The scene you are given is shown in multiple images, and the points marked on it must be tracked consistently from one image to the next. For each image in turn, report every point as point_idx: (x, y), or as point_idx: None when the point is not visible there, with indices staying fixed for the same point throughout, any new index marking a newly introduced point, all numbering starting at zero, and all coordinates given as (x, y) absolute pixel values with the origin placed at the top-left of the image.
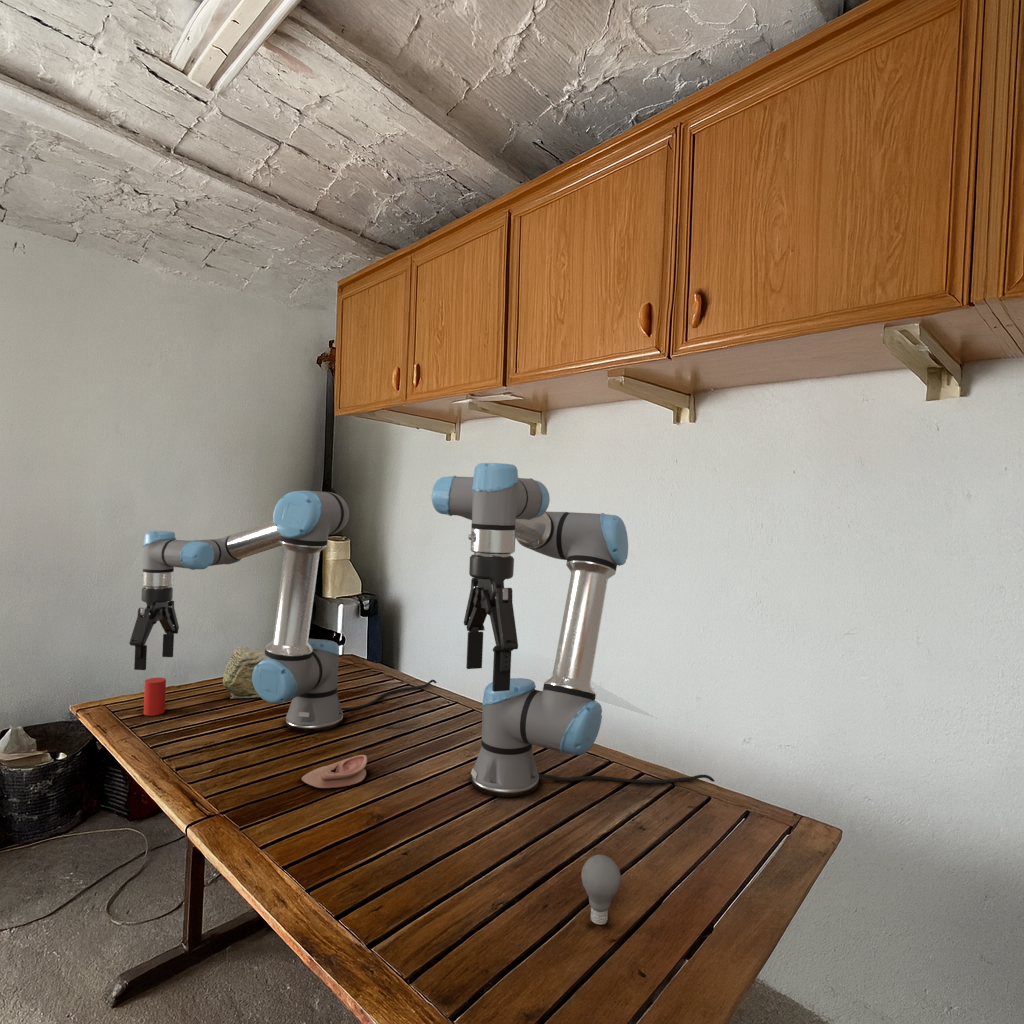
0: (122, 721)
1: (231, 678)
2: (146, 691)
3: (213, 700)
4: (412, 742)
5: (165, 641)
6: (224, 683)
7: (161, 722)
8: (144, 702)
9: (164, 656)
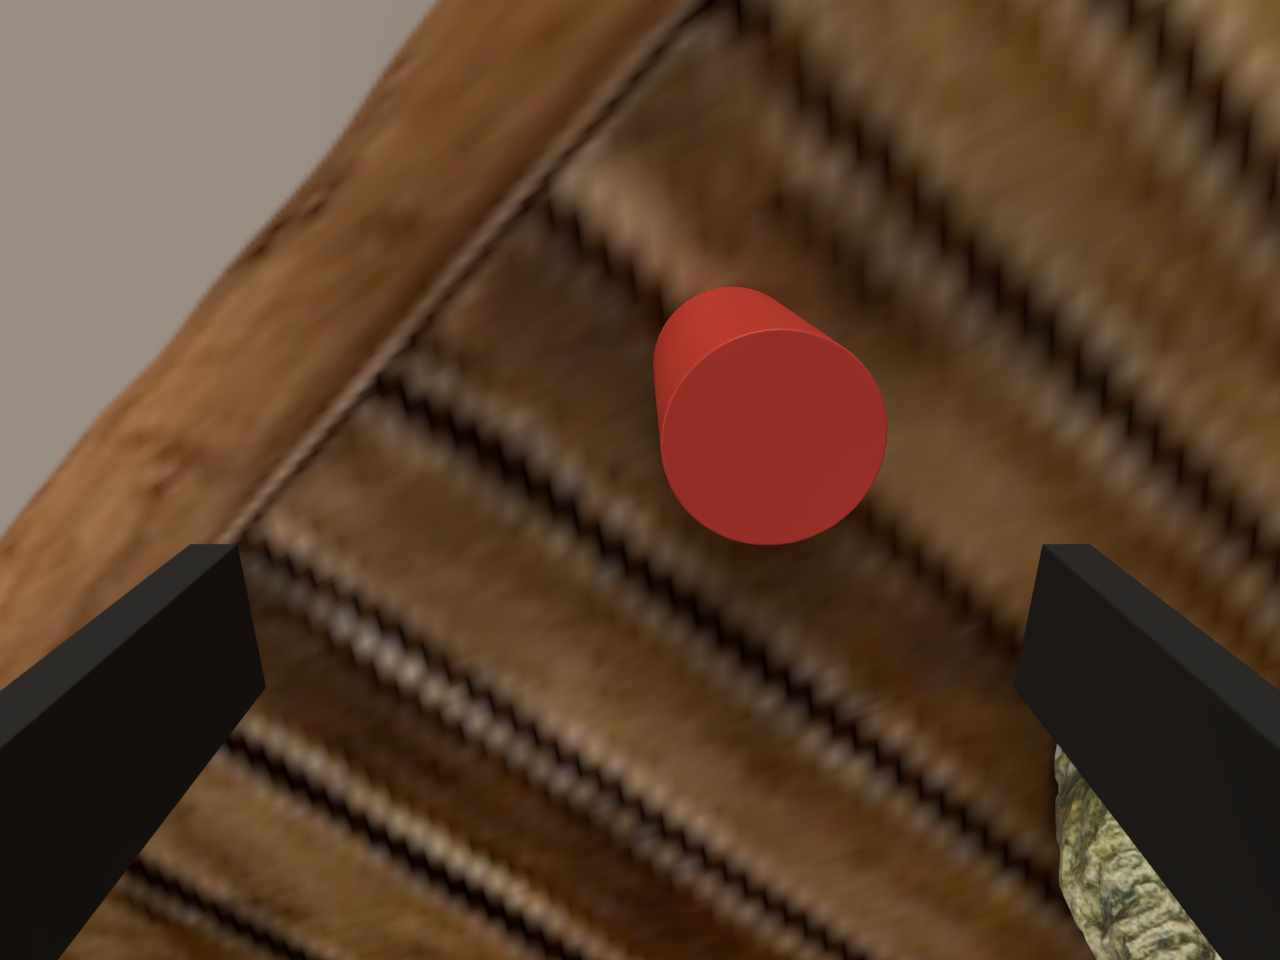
0: (500, 232)
1: (1100, 892)
2: (667, 374)
3: None
4: None
5: (1239, 780)
6: None
7: (530, 523)
8: (678, 327)
9: (1037, 585)
